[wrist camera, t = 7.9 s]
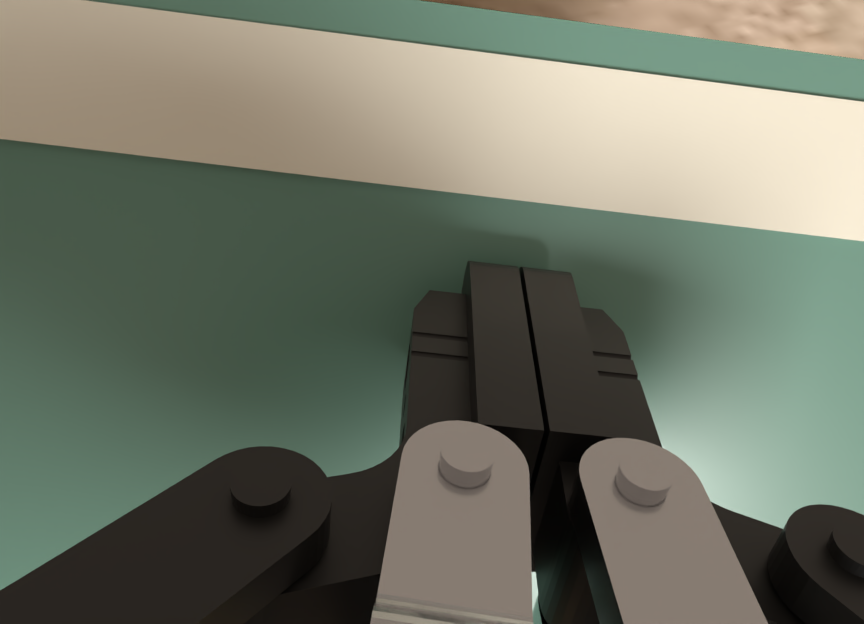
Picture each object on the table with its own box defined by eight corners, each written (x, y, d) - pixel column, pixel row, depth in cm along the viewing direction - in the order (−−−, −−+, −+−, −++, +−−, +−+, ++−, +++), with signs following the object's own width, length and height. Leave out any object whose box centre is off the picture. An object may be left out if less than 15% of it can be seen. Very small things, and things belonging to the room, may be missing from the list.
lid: (-45, 791, 14) (-76, 834, 13) (-41, -50, 11) (-79, -69, 10) (853, 852, 15) (882, 896, 14) (1046, 94, 12) (1098, 89, 11)
